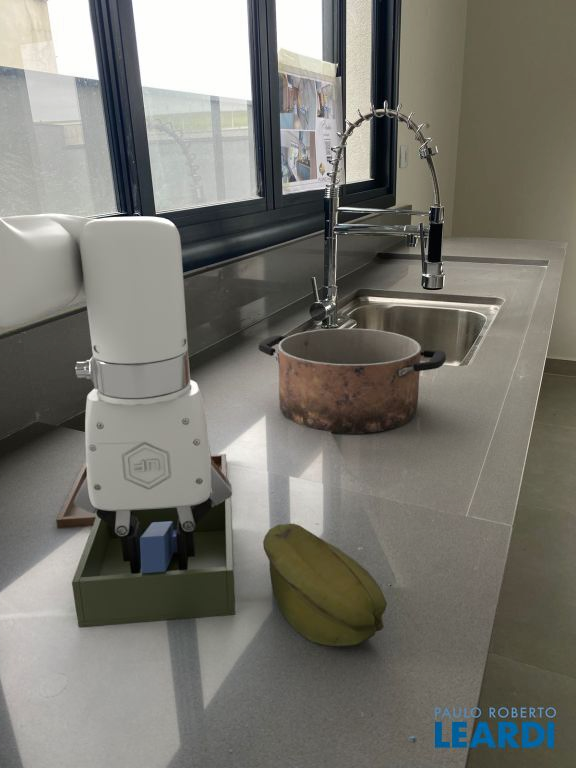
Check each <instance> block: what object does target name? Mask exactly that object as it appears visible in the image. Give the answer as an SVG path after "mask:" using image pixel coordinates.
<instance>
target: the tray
mask: <svg viewBox="0 0 576 768" xmlns="http://www.w3.org/2000/svg"><path fill="white" fill-rule="evenodd" d="M211 459H212V460H213V461H214V463H215V464H216V465H217V467H218V468H219V469H220V471H221V472H222V473H223V474H224V476H225V477H226V478H227V479H228V477H227V475H228V473H227V472H228V471H227V454H226V453H218V454H211ZM86 476H87V467H86V461H84V462H83V464H82V465H81V468H80V470H79V472H78V474H77V476H76V478H75V480H74V482H73V485H72V486H71V489H70V491H69V493H68V495H67V496H66V499H65V501H64V503H63V505H62V507H61V509H60V511H59V513H58V515H57V517H56V520H55V521H56V528H57V529H69V528H84V527H93V524H94V521H95V519H96V516H97V514H94V513H93V514H92V513H90V512H87V511H85V510H83V509H80V508H78V507H76V506H75V505H74V500H75V497H76V495H77V493H78V491H79V489H80V488H81V486H82V484H83V482H84V480H85V478H86ZM211 488H212V487H211Z"/></svg>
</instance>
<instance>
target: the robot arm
mask: <svg viewBox="0 0 576 768" xmlns="http://www.w3.org/2000/svg"><path fill="white" fill-rule="evenodd" d="M183 270H184V267H183V254H182V244H181V236H180V232H179V230H178V228H177V226H176V225H175V224H174V223H173V222H172V221H171V220H169V219H166V218H164V217H157V216H113V217H103V218H91V217H85V216H78V215H72V214H65V213H64V214H63V213H41V214H26V215H16V216H15V215H14V216H6V217H5V216H3V217H0V328H4V329H5V328H12V327H17V326H21V325H23V324H26V323H29V322H31V321H34V320H37V319H39V318H41V317H43V316H46V315H48V314H51V313H53V312H56V311H60V310H63V309H66V308H70V307H73V306H75V305H78V304H81V303H86V310H87V319H88V326H89V334H90V343H91V351H92V356H91V358H90V359H86V360H85V361H76V364H75V375H76V378H77V379H86V380H88V381H89V380H91V383H92V384H93V386H94V388H92V390H91V391H89V393H87V395H86V403H85V417H84V418H85V419H84V422H85V423H84V428H85V429H84V439H85V441H84V442H85V443H84V444H85V462H86V467H87V476H86V478H85V480H84V482H83V484H82V486H81V488H80V489H79V491H78V493H77V495H76V497H75V500H74V505H75V506H76V507H78V508H80V509H83V510H85V511H87V512H90V513H92V514H93V513H94V514H97V516H98V517H99V518H100V519H101V520H103V521H104V522H106V523H107V524H109V525H110V526H111V527H113V528H114V529H115V533H116V534H117V535H118V536H121V544H122V553H123V560H124V562H126V561H130V569H131V574H135V573H140V569H141V548H140V537H141V526H140V521H138V518H136V517H135V516H133V513H134V510H144V509H159V508H174V507H176V508H177V512H178V516H179V519H178V524H177V532H176V539H177V551H178V563H179V570H187V568H188V557H195V536H194V529H195V525H196V524H197V523H198V522H199V521H200V520H201V519H202V518H203V517H204V516H205V515H206V514H207V513H208V512H209V511H210V510H211V508H212V507H214V506H217V505H218V504H220V503H222V502H223V501H225V500H226V499H228V498H230V497H231V498H232V495H233V485H232V483H231V482H230V480H228V477H227V478H226V477H225V476H224V474H223V473H222V472H221V471H220V469H219V468H218V467H217V465H216V464H215V463H214V461H213V460H212V459H211V455H212V454H211V445H210V436H209V429H208V423H207V416H206V411H205V406H204V402H203V399H202V395H201V391H200V388H199V385H198V383H197V382H196V381H194V380H192V379H191V373H190V358H189V357H190V356H189V344H188V331H187V314H186V301H185V300H186V298H185V297H186V296H185V283H184V271H183ZM211 487H212V488H211Z"/></svg>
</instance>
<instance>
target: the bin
mask: <svg viewBox="0 0 576 768" xmlns="http://www.w3.org/2000/svg"><path fill="white" fill-rule="evenodd" d="M232 512H233V511H232V496H231V497H230V498H228V499H226V500H225V501H223V502H222V503H220V504H218V505H217V506H214V507H212V508H211V510H210V511H209V512H208V513H207V514H206V515H205V516H204V517H203V518H202V519H201V520H200V521H199V522H198V523H197V524H196V525H195V529H194V536H195V557H188V568H187V570H179V563H178V552H177V553H173V556H172V558H171V560H170V562H169V565H168V567H167V569H166V571H165V572H157V573H143V574H142V573H141V569H140V573H135V574H131V569H130V561H126V562H124V560H123V553H122V544H121V536H118V535H117V534H116V533H115V529H114V528H113V527H111V526H110V525H109V524H107V523H106V522H104V521H103V520H101V519H100V518H99V517H98V516H96V519H95V521H94V524H93V526H91V530H90V532H89V535H88V537H87V540H86V543H85V546H84V549H83V551H82V554H81V556H80V559H79V562H78V564H77V567H76V570H75V573H74V575H73V578H72V580H71V586H72V593H73V600H74V606H75V613H76V620H77V621H76V622H77V626H78V628H82V627H83V628H84V627H96V626H108V625H121V624H132V623H145V622H156V621H157V622H158V621H170V620H171V621H172V620H182V619H195V618H207V617H218V616H231V615H236V594H235V593H236V592H235V589H236V588H235V564H234V562H235V561H234V535H233V534H234V533H233V516H232V515H233V513H232ZM133 516H135V517H136V518H138V521H140V526H141V536H142V535H143V534H144V532H145V531H146V530H147V529H148V527H149V526H150V525H151V523H153V522H168V521H173V530H177V524H178V519H179V516H178V512H177V508H176V507H174V508H159V509H144V510H134V513H133Z"/></svg>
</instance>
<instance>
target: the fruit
mask: <svg viewBox="0 0 576 768" xmlns="http://www.w3.org/2000/svg"><path fill="white" fill-rule="evenodd" d="M262 544H263V550H264V553H265V555H266V557H267V560H268V561H269V575H270V582H271V587H272V592H273V596H274V599H275V602H276V604H277V606H278V607H279V610H280V611H281V613H282V615H283V617H284V618H285V619H286V620H287V622H288V623H289V625H291V627H293V628H294V630H296V632H298V633H299V634H300V635H301V636H302V637H304V639H306V640H309V642H312V643H316V644H318V645H324V646H327V647H350V646H358V645H360V644H362V643H364V642H365V641H368V640H369V639H370V638H372V637H375V635H376V633H377V632H380V631H382V630H383V629H384V621H383V615H384V613H385V611H386V608H387V604H388V602H387V600H386V597H385V595H384V593H383V591H382V589H381V587H380V585H379V584H378V583H377V581H376V580H375V578H374V577H373V576H372V575H371V574H370V573H369V571H368V570H367V569H365V568H364V567H363V566H362V565H361V564H360V563H359V562H357V560H355V559H354V558H353V557H351V556H349V555H348V554H347V553H345V552H343V551H342V550H341V549H340V548H338V547H336V546H335V545H333V544H331V543H329V542H327V541H326V540H324V539H322V538H320V537H319V536H318V535H315V534H314V533H313V532H311V531H309V530H308V529H306V528H304V527H303V526H301V525H300V524H296V523H285V524H282V523H281V524H277V525H276V526H274V527H272V528H270V529H268V531H267V532H266V534H265V535H264V537H263V541H262Z"/></svg>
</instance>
